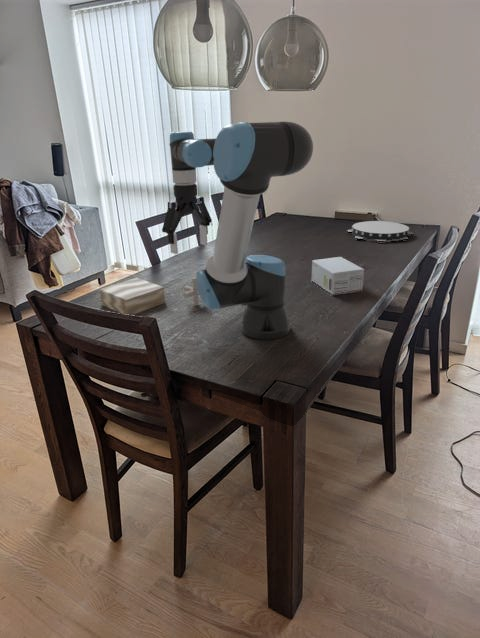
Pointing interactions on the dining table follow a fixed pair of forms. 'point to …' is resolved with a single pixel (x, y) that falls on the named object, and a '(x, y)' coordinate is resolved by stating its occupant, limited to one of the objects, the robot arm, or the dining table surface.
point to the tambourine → (380, 230)
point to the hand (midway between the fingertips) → (189, 248)
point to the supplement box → (337, 275)
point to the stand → (132, 296)
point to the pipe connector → (192, 291)
